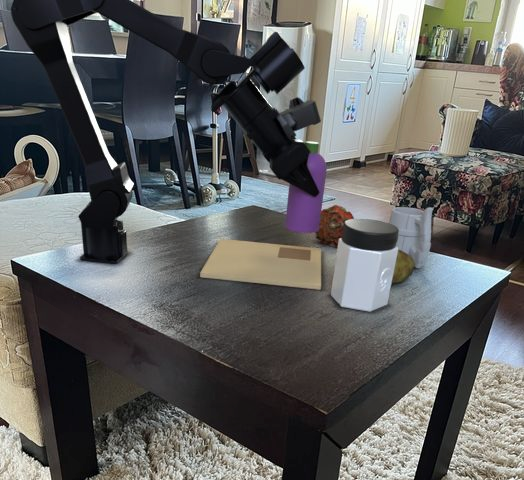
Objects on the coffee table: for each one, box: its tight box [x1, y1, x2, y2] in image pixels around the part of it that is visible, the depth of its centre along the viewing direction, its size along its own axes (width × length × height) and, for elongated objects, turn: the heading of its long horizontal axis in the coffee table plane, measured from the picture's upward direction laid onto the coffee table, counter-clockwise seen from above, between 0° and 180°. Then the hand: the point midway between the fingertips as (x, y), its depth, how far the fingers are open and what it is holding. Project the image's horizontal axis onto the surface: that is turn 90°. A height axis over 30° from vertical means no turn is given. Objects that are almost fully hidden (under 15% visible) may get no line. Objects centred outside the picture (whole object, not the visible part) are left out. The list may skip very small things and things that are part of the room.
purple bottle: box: [284, 140, 328, 234], centre depth 91 cm, size 6×6×14 cm
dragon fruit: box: [314, 204, 355, 248], centre depth 109 cm, size 8×8×12 cm
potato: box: [391, 249, 415, 285], centre depth 91 cm, size 8×13×8 cm, turn 92°
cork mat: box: [199, 238, 322, 291], centre depth 96 cm, size 20×20×1 cm
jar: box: [330, 218, 399, 313], centre depth 81 cm, size 9×8×12 cm
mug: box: [388, 206, 434, 269], centre depth 99 cm, size 8×12×12 cm, turn 17°
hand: (314, 190), depth 91 cm, fingers closed on purple bottle, 6 cm apart
